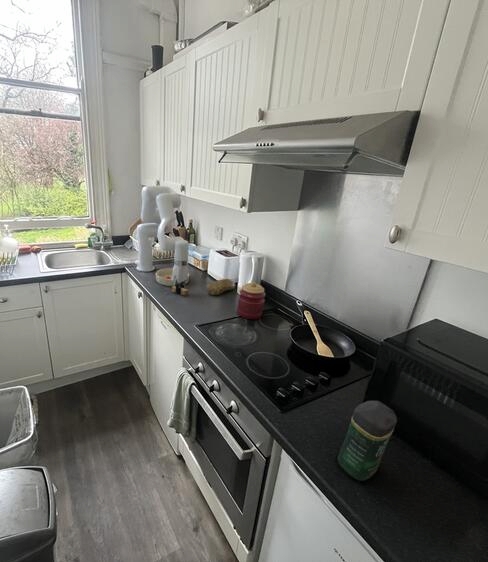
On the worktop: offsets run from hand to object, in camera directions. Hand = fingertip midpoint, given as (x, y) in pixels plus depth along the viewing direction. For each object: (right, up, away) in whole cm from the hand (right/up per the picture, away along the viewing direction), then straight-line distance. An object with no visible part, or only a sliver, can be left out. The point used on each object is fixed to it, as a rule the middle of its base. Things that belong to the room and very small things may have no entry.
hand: (179, 292), depth 172 cm
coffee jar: (+52, -41, -96) cm, 116 cm away
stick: (0, 0, 0) cm, 0 cm away
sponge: (+24, 0, +5) cm, 24 cm away
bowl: (-6, +7, +18) cm, 20 cm away
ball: (-8, +8, +14) cm, 18 cm away
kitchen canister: (+37, -11, -19) cm, 43 cm away
